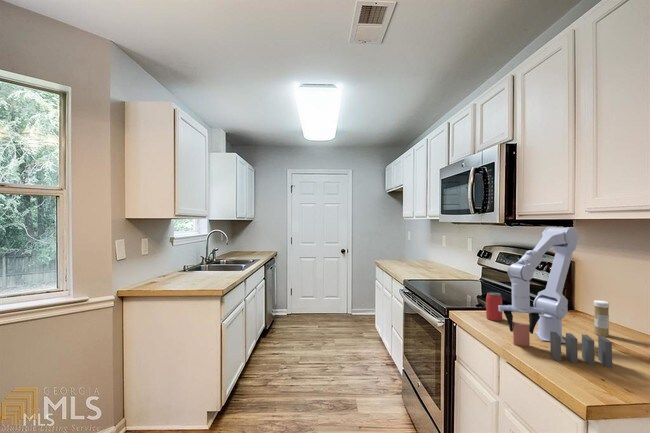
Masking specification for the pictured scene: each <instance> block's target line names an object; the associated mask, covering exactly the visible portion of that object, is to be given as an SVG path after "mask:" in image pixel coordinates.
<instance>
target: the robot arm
mask: <svg viewBox="0 0 650 433" xmlns="http://www.w3.org/2000/svg"><path fill="white" fill-rule="evenodd" d="M541 236H542V237H541V239H540V240H539V241H538V243H537V244H536V245H535V247H534V248H533V249H531V250H530V249H529V250H526V251H525V253H524V254H523V255H522V256H521V258H519V260H518V261H516V262H515V263H512V264H510V265H509V266H508V270H507V276H508V277H509V281H510V283H511V304H507V305H506V304H504V305H503V304H502V305H499V311H500V312H502V313H503V314H504V316H505V318H506V321H507V323H508V328H509V331H510V332H511V333H513V322H514V321H513V318H514V315H513V313H519V314H528V320H529V323H528V324H529V334H532V335H533V334H534V333H535V335H537V336H538V338H539V339H540V340H541V341H542V342H550V331H551V332H556V333H557V334H558V335H559V336H560V337H561V344H566V339H564V338H563V325H562V324H563V323H562V322H563V321H562V320H563V319H564V318H565V317H566V316H567V315H568V304H569V303H568V302H569V300H568V299H567V298H566V296H564V294H563V290H564V287H565V283H566V279H567V275H568V272H569V268H570V264H571V261H572V258H573V253H574V251H576V250H577V249H576V248H577V245H578V240H579V234H578V232H577V230H576V229H575V228H574V227H553V226H552V227H551V226H548V227H546V228H545V229H544V230H543V231H542V233H541ZM550 249H552V250H554V252H555V254H554V257H553V261H552V264H551V267H550V268H551V269H550V272H549V275H548V280H547V283H546V286H545V289H543V290H541V291H538V292H537V295H536V297H535V298H534V300H533V303H532V304H533V305H532V306H531V302H530V301H531V297H530V294H531V292H530V286H531V284H530V281H531V280H532V279H533V277H534V274H535V271H536V268H537V267H538V266H539V264H541V263H542V261H543V255H544V254H545V253H546V252H548V251H549V250H550ZM536 325H537V330H535V327H536Z"/></svg>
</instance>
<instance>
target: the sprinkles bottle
mask: <svg viewBox="0 0 650 433" xmlns="http://www.w3.org/2000/svg"><path fill="white" fill-rule="evenodd" d="M593 307H594V314H593V315H594V316H593V317H594V318H593V319H594V322H593V323H594V334H595V335H596V336H603V337H605V338H607V337H610V333H609V332H610V331H609V330H610V314H609V312H610V310H609V308H610V303H609V301H606V300H601V299H600V300H599V299H597V300H593Z"/></svg>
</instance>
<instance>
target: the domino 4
mask: <svg viewBox="0 0 650 433" xmlns="http://www.w3.org/2000/svg"><path fill="white" fill-rule="evenodd" d="M597 343H598V346H597V349H598V350H597V352H598V356H597V357H598V361H599V362H600V363H601V364H603V366H604V367H605V368H613V342H612V341H610V340H609V339H608V338H607V337H604V336H599V335H597Z"/></svg>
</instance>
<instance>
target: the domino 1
mask: <svg viewBox="0 0 650 433" xmlns="http://www.w3.org/2000/svg"><path fill="white" fill-rule="evenodd" d="M549 343H550V346H549V347H550V351H549V352H550V355H551V357H552V358H553V359H554V361H555V362H556V361H557V362H562V343H561V337H560V336H559V335H558V334H557V333H556V332H551V331H550V341H549Z"/></svg>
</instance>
